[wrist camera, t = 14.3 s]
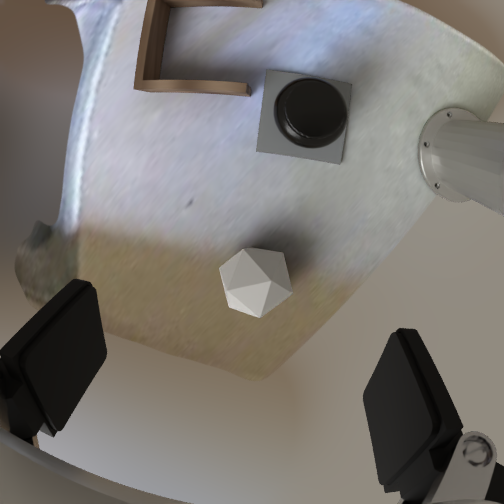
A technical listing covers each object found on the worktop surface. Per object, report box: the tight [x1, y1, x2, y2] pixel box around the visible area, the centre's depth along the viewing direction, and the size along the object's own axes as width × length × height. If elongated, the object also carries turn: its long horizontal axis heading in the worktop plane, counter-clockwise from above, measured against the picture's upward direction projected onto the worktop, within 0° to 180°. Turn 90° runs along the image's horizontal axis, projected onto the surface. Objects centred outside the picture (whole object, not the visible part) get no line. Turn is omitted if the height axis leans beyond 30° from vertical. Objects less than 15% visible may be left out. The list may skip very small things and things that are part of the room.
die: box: [219, 247, 293, 318], centre depth 38 cm, size 8×9×10 cm
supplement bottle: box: [273, 77, 348, 149], centre depth 28 cm, size 7×7×12 cm
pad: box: [256, 70, 352, 165], centre depth 33 cm, size 10×10×1 cm
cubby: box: [134, 0, 263, 97], centre depth 29 cm, size 12×13×5 cm
